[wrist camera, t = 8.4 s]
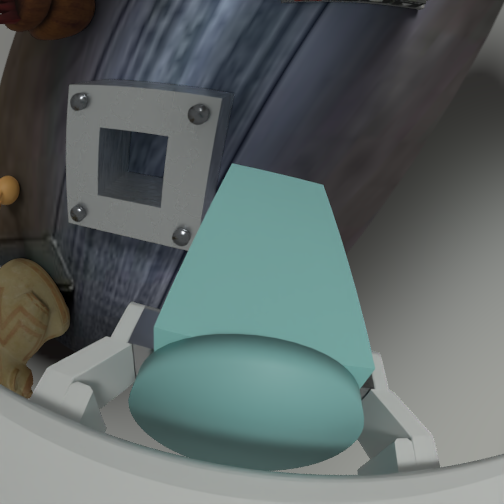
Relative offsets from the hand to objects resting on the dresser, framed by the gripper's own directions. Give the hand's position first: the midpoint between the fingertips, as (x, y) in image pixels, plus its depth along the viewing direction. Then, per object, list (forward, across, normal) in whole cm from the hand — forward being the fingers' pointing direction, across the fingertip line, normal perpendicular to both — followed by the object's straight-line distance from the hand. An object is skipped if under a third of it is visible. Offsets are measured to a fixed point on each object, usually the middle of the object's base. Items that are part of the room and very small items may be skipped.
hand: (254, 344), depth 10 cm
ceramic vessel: (+25, +33, +28) cm, 50 cm away
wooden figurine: (+25, +24, -13) cm, 37 cm away
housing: (+25, +12, +2) cm, 27 cm away
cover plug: (+10, 0, 0) cm, 10 cm away
